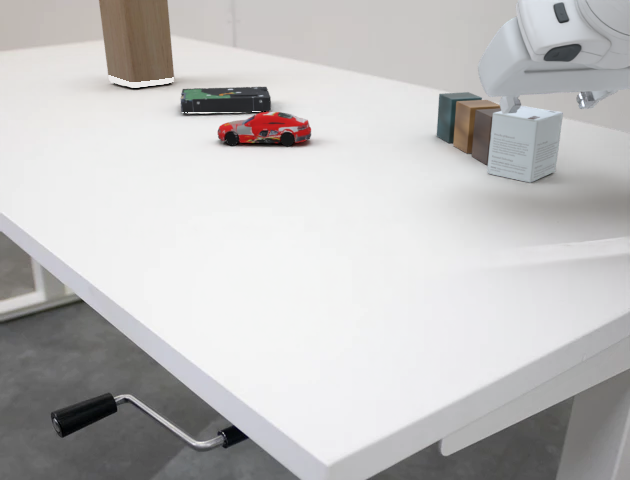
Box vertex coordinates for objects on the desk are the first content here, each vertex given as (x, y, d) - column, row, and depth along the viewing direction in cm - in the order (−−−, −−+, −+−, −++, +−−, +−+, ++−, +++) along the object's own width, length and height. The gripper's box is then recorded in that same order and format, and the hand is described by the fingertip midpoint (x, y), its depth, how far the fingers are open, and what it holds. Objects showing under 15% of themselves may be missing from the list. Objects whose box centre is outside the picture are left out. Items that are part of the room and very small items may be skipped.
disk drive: (267, 102, 134) (182, 103, 133) (266, 86, 133) (181, 87, 131) (271, 113, 125) (181, 115, 123) (271, 96, 124) (180, 98, 122)
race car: (214, 146, 105) (212, 117, 103) (222, 137, 110) (220, 109, 108) (308, 147, 104) (308, 117, 102) (312, 138, 108) (312, 109, 107)
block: (107, 84, 152) (93, -25, 143) (150, 78, 158) (140, -27, 149) (132, 90, 145) (120, -24, 137) (176, 84, 151) (167, -25, 143)
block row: (519, 162, 96) (524, 114, 93) (486, 165, 95) (491, 116, 92) (465, 134, 110) (468, 92, 107) (436, 136, 109) (439, 93, 107)
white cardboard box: (511, 164, 95) (518, 104, 92) (556, 173, 91) (564, 111, 88) (485, 173, 91) (491, 111, 88) (531, 183, 87) (538, 119, 84)
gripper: (695, -10, 74) (619, 77, 87) (504, -6, 70) (454, 86, 83) (717, 43, 72) (636, 124, 85) (522, 51, 68) (468, 136, 81)
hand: (545, 106), depth 84 cm, fingers open, 8 cm apart
